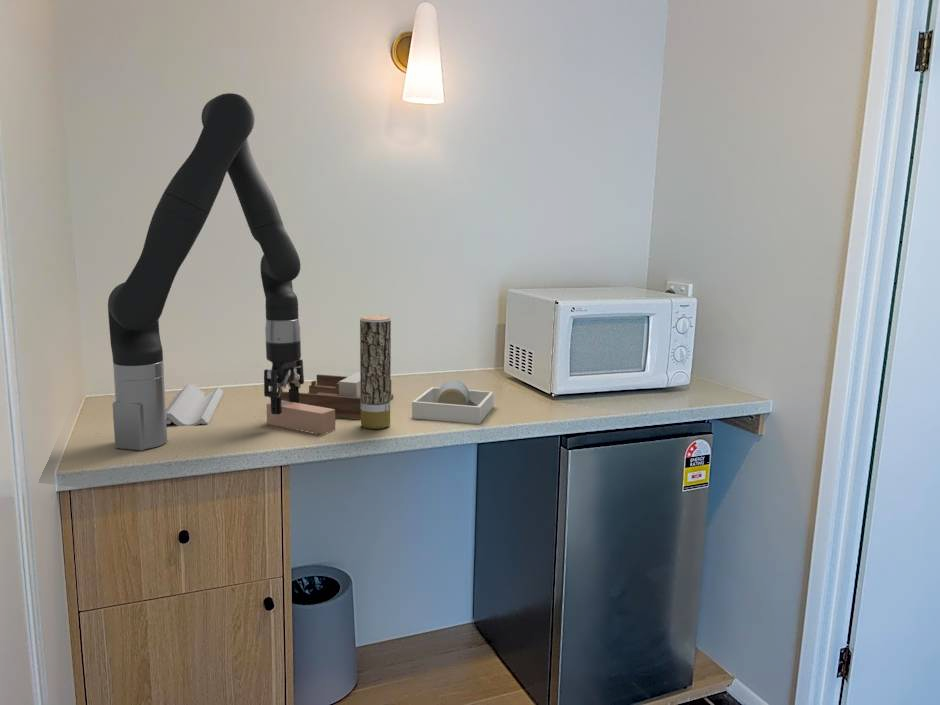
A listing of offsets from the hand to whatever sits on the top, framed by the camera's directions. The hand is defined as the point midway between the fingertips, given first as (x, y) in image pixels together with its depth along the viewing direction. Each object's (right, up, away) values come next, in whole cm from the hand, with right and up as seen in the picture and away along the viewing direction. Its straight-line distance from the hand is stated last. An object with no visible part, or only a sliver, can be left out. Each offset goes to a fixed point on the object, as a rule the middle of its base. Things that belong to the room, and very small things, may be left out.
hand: (285, 409), depth 164 cm
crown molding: (-27, -2, +14) cm, 30 cm away
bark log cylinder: (+20, -4, +2) cm, 21 cm away
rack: (+8, 0, +20) cm, 22 cm away
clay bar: (+4, -4, 0) cm, 6 cm away
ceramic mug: (+39, -2, +15) cm, 42 cm away
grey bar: (+14, +2, +18) cm, 23 cm away
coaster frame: (+38, -2, +15) cm, 41 cm away
